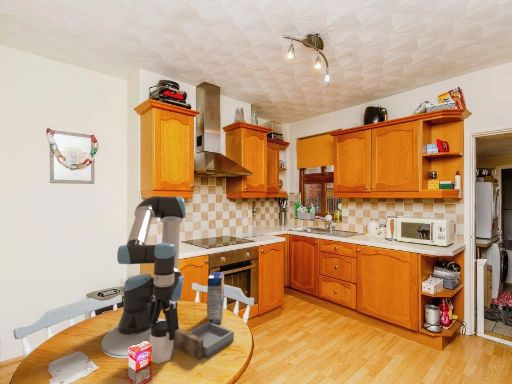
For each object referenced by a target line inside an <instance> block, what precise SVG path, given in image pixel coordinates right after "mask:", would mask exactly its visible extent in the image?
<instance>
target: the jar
mask: <svg viewBox="0 0 512 384" xmlns="http://www.w3.org/2000/svg"><path fill="white" fill-rule="evenodd" d="M167 331H168V328H167V323H166V320H159V321H157V322H156V323H154V324H153V325H152V326H151V328H150V334H149V343H150V344H152V361H151V362H152V363H155V364H156V365H158V364H162V363H165V362H168V361H171V358H172V357H173V354H174V347H172V348H170V349H168V350H166V332H167ZM173 342H174V341H173Z"/></svg>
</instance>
